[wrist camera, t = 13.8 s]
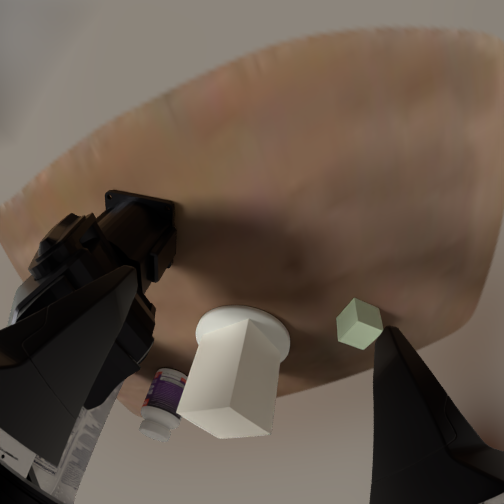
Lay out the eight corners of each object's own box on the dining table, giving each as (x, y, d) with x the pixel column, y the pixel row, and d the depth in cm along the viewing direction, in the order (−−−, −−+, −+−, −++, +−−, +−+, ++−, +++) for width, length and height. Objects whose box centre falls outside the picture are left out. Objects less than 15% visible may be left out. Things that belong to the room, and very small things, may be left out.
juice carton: (107, 312, 32) (8, 502, 10) (142, 365, 38) (76, 528, 16) (63, 310, 34) (-28, 464, 12) (98, 358, 40) (32, 498, 18)
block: (336, 317, 27) (337, 341, 25) (354, 296, 25) (357, 320, 23) (360, 326, 27) (363, 350, 25) (378, 307, 26) (383, 331, 23)
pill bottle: (154, 362, 37) (129, 422, 29) (191, 372, 36) (171, 435, 28) (159, 381, 40) (138, 435, 32) (193, 391, 40) (175, 447, 32)
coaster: (196, 353, 34) (194, 358, 33) (200, 294, 28) (197, 300, 27) (277, 371, 33) (276, 377, 33) (302, 317, 28) (301, 324, 27)
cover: (202, 334, 30) (176, 412, 22) (248, 318, 28) (229, 406, 20) (236, 365, 32) (219, 438, 25) (281, 353, 30) (271, 434, 22)
